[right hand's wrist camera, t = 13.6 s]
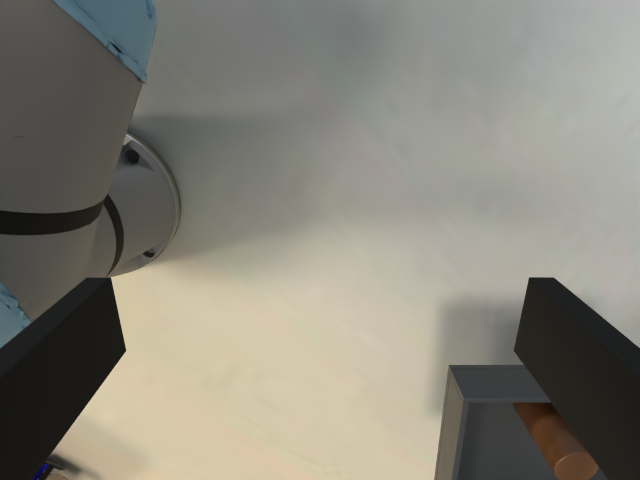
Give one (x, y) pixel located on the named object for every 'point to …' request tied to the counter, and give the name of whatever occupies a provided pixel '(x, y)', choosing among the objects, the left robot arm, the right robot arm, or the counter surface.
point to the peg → (556, 441)
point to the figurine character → (45, 477)
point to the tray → (490, 426)
